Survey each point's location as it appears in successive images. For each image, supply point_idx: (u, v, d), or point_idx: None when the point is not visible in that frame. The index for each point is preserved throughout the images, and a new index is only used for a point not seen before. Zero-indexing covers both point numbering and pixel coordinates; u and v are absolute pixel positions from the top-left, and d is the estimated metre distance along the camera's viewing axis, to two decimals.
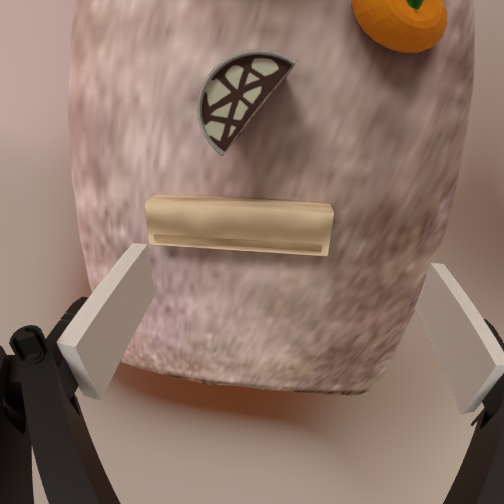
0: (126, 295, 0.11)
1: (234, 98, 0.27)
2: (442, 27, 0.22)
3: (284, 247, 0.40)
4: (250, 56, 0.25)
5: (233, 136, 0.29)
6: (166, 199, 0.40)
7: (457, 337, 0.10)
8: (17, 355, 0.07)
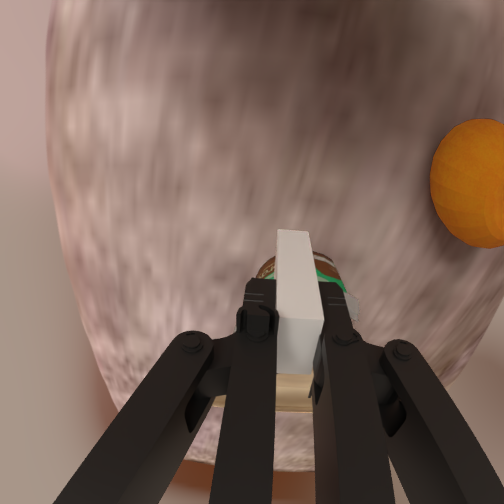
0: None
1: None
2: None
3: (311, 411, 0.37)
4: None
5: None
6: None
7: None
8: (238, 327, 0.09)
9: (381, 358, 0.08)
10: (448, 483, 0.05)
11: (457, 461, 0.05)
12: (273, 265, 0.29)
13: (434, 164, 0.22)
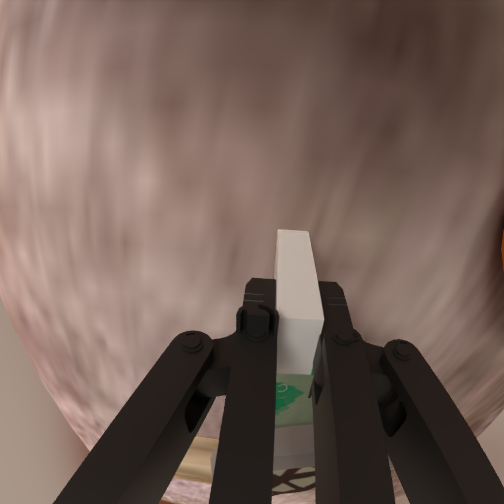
0: None
1: (273, 480, 0.14)
2: None
3: (314, 488, 0.27)
4: (312, 454, 0.12)
5: None
6: None
7: None
8: (238, 327, 0.09)
9: (381, 358, 0.08)
10: (448, 483, 0.05)
11: (457, 461, 0.05)
12: None
13: None
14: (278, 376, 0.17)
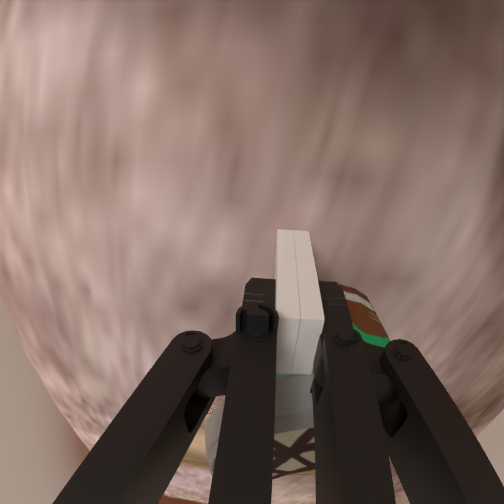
0: None
1: (281, 454, 0.12)
2: None
3: None
4: None
5: (273, 478, 0.14)
6: None
7: None
8: (237, 327, 0.09)
9: (382, 358, 0.08)
10: (449, 483, 0.05)
11: (457, 461, 0.05)
12: None
13: None
14: None
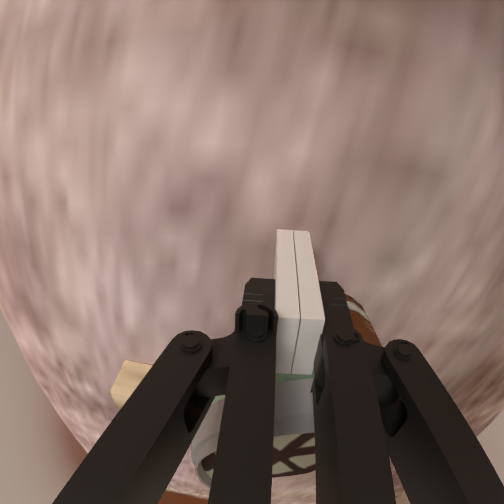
0: None
1: None
2: None
3: None
4: None
5: None
6: None
7: None
8: (237, 327, 0.09)
9: (382, 358, 0.08)
10: (449, 482, 0.05)
11: (458, 461, 0.05)
12: None
13: None
14: None
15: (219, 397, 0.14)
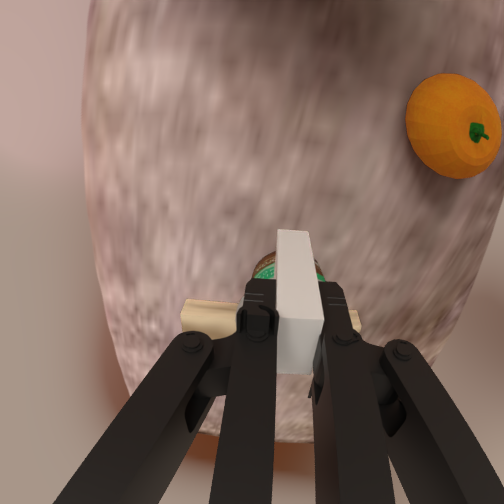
0: None
1: None
2: None
3: None
4: None
5: None
6: (200, 307, 0.42)
7: None
8: (238, 327, 0.09)
9: (381, 358, 0.08)
10: (448, 483, 0.05)
11: (457, 461, 0.05)
12: (271, 259, 0.37)
13: (407, 108, 0.27)
14: None
15: None
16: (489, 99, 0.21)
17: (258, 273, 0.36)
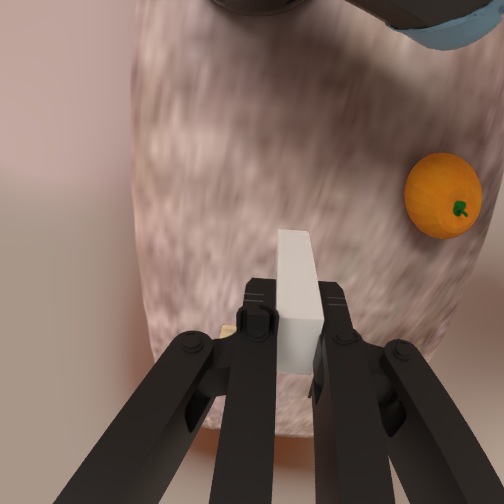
0: None
1: None
2: None
3: None
4: None
5: None
6: None
7: None
8: (238, 327, 0.09)
9: (381, 358, 0.08)
10: (449, 482, 0.05)
11: (457, 461, 0.05)
12: None
13: (406, 184, 0.36)
14: None
15: None
16: (473, 178, 0.30)
17: None
